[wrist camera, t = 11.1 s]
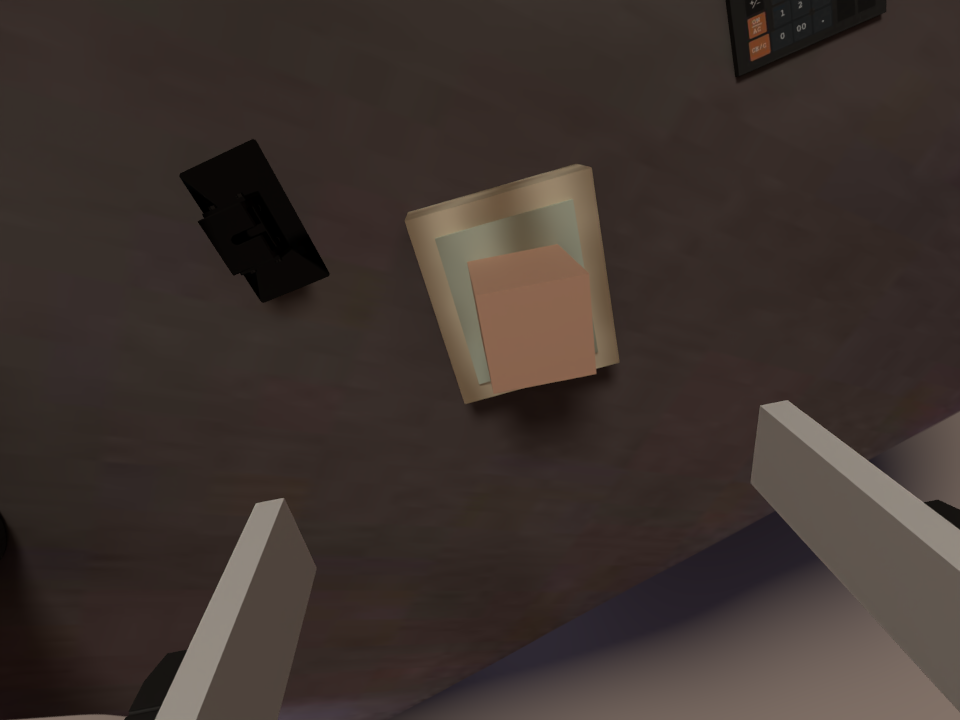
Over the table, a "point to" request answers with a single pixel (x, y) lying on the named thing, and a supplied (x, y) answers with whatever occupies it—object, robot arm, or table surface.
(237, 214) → the black rectangular box
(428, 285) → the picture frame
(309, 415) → the table surface
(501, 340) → the terracotta block
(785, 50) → the calculator
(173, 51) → the table surface
